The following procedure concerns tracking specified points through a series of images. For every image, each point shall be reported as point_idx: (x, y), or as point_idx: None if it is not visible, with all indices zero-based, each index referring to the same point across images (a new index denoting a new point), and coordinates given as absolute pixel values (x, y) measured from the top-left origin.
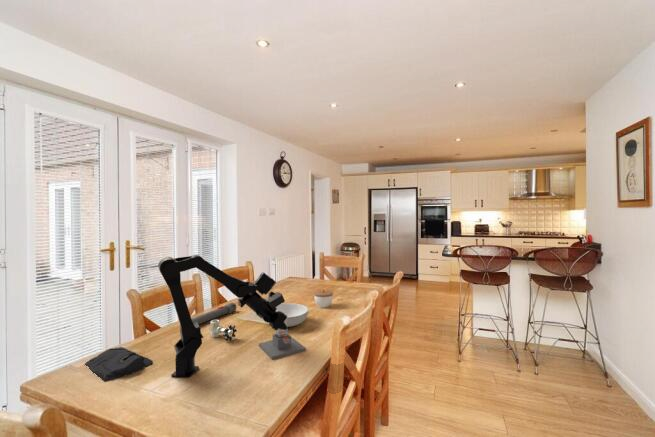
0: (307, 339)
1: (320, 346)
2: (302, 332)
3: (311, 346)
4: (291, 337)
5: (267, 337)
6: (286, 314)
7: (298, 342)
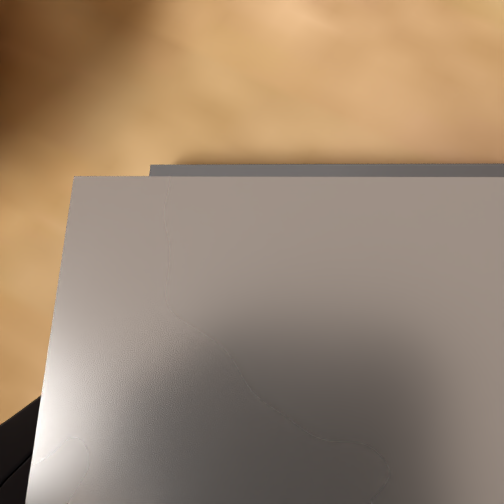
0: (281, 55)
1: (497, 21)
2: (119, 31)
3: (449, 89)
4: (192, 172)
5: (8, 346)
6: (446, 182)
7: (346, 167)
